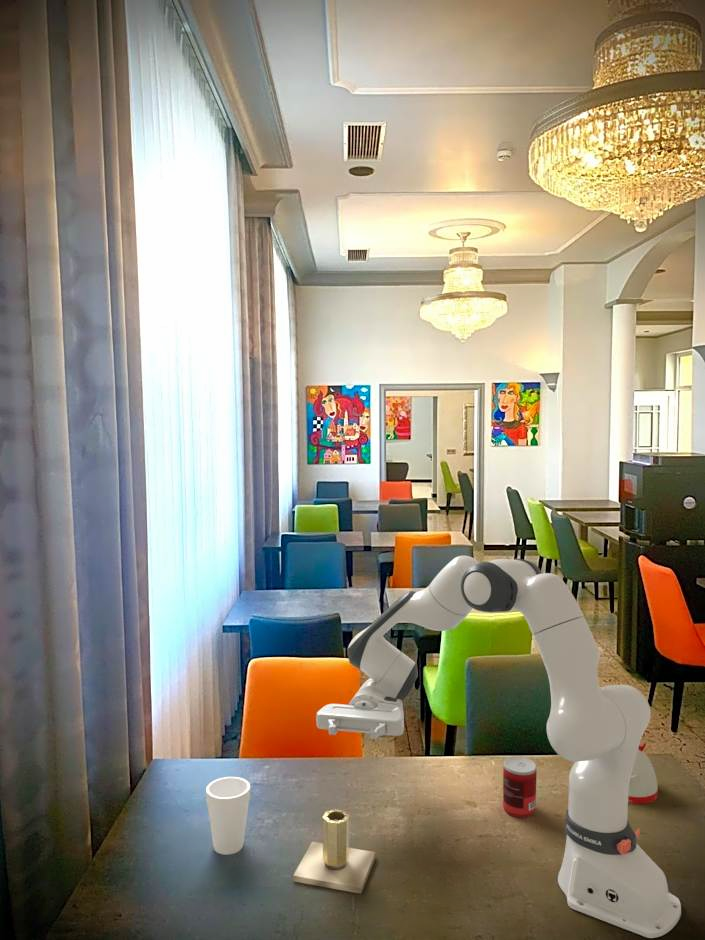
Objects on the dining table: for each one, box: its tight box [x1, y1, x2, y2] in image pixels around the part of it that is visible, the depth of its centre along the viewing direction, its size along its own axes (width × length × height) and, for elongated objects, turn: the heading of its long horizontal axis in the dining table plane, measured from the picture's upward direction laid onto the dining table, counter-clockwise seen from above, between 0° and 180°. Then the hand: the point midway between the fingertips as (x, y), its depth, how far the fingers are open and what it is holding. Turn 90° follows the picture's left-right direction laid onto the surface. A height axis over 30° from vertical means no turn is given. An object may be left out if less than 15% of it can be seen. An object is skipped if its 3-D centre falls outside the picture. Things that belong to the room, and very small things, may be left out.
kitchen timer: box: [628, 742, 659, 804], centre depth 177 cm, size 14×14×15 cm
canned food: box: [502, 756, 538, 819], centre depth 167 cm, size 8×8×11 cm
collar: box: [322, 808, 350, 867], centre depth 144 cm, size 5×5×9 cm
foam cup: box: [205, 776, 251, 856], centre depth 152 cm, size 10×9×13 cm
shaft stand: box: [292, 819, 376, 895], centre depth 144 cm, size 14×12×10 cm
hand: (352, 733), depth 154 cm, fingers open, 8 cm apart
